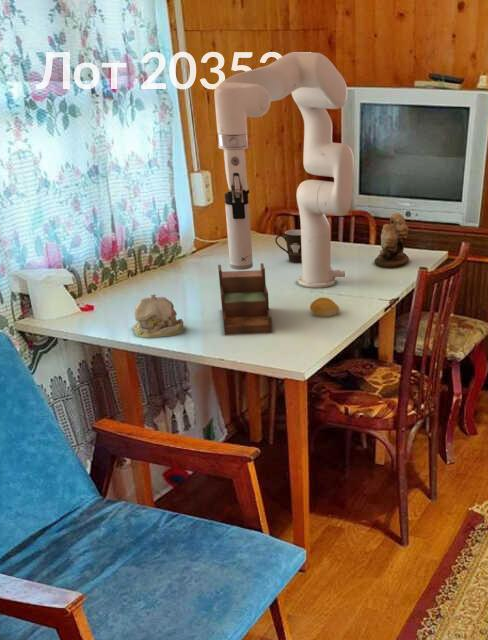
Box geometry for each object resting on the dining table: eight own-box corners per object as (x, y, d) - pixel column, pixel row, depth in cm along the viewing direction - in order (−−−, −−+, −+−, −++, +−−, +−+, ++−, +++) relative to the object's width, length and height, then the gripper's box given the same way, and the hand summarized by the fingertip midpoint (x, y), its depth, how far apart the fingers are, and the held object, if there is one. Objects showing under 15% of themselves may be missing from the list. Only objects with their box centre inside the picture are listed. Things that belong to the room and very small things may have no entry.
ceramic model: (130, 338, 200) (124, 302, 194) (134, 324, 209) (128, 289, 204) (183, 336, 202) (179, 300, 197) (185, 322, 211) (180, 287, 206)
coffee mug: (314, 260, 271) (313, 231, 265) (300, 265, 264) (299, 236, 259) (289, 255, 276) (288, 227, 270) (274, 260, 270) (273, 231, 264)
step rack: (265, 308, 223) (263, 263, 216) (271, 332, 206) (269, 283, 199) (222, 310, 221) (218, 264, 214) (224, 334, 204) (220, 285, 196)
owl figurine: (383, 254, 279) (384, 206, 270) (413, 257, 276) (416, 209, 267) (369, 266, 265) (370, 216, 255) (401, 270, 262) (403, 219, 252)
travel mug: (249, 270, 202) (244, 192, 191) (226, 268, 203) (220, 191, 192) (257, 264, 208) (252, 188, 197) (234, 263, 209) (228, 186, 198)
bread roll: (316, 318, 217) (316, 305, 214) (307, 309, 224) (307, 296, 221) (343, 316, 219) (343, 302, 217) (333, 306, 226) (333, 293, 224)
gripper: (250, 146, 182) (254, 222, 192) (245, 137, 196) (250, 208, 206) (219, 146, 181) (225, 223, 190) (217, 137, 195) (223, 209, 205)
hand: (238, 215), depth 198 cm, fingers closed on travel mug, 6 cm apart
